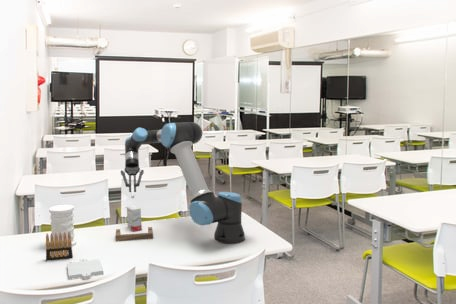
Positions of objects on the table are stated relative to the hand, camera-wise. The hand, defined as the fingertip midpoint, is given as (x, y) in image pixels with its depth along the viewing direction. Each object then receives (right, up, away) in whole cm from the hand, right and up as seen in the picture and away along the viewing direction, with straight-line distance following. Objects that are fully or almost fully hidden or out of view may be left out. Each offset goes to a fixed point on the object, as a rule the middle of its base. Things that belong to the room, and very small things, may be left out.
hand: (132, 196), depth 233 cm
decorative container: (-27, -20, -29) cm, 44 cm away
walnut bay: (+5, -18, -17) cm, 25 cm away
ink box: (+2, -17, -5) cm, 18 cm away
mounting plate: (-7, -25, -58) cm, 63 cm away
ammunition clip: (-22, -22, -46) cm, 55 cm away
